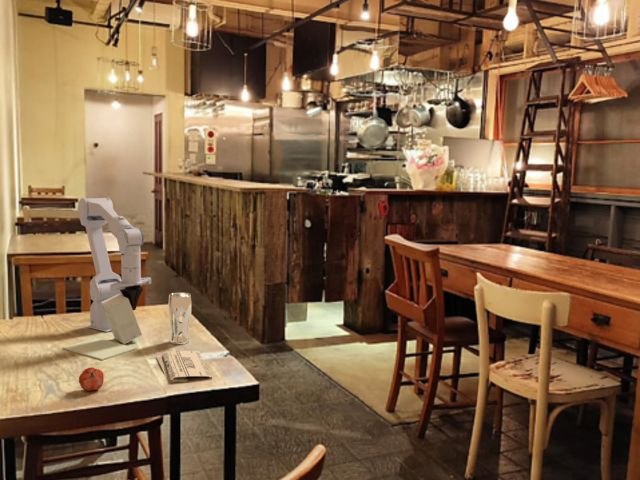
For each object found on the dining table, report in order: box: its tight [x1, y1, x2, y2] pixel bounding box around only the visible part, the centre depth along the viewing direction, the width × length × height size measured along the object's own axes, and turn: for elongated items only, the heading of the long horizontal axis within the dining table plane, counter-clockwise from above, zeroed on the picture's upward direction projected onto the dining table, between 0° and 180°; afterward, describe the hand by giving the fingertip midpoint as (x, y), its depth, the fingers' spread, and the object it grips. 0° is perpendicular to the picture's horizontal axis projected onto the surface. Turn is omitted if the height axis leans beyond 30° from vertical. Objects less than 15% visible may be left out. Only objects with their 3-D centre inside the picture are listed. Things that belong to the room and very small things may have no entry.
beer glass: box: [167, 292, 192, 345], centre depth 179 cm, size 7×7×15 cm
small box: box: [101, 294, 143, 345], centre depth 178 cm, size 8×6×13 cm
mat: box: [62, 337, 137, 361], centre depth 171 cm, size 18×12×1 cm, turn 59°
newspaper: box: [156, 350, 213, 383], centre depth 158 cm, size 23×12×2 cm, turn 21°
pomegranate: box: [78, 366, 105, 392], centre depth 141 cm, size 6×6×8 cm
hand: (131, 309), depth 181 cm, fingers closed
